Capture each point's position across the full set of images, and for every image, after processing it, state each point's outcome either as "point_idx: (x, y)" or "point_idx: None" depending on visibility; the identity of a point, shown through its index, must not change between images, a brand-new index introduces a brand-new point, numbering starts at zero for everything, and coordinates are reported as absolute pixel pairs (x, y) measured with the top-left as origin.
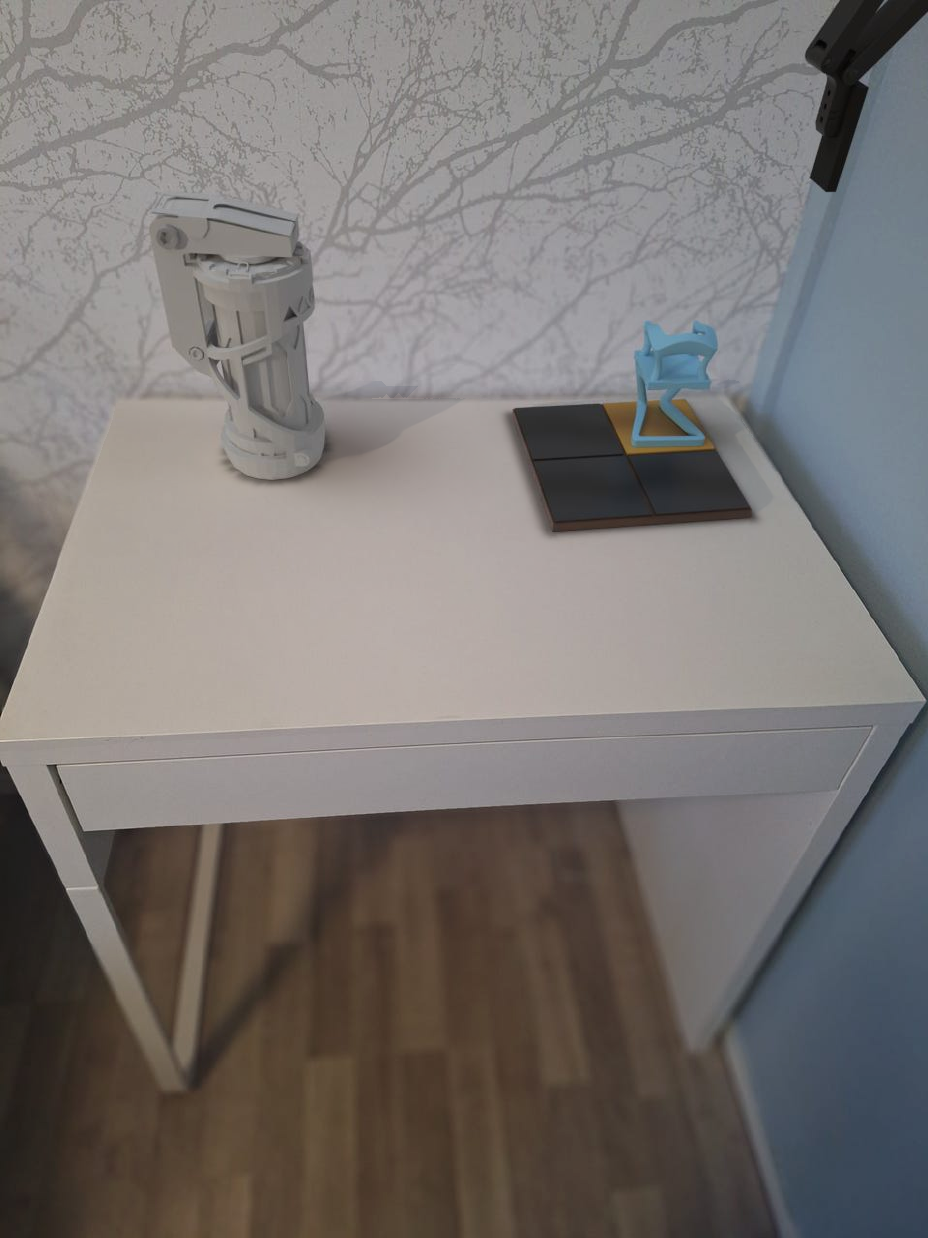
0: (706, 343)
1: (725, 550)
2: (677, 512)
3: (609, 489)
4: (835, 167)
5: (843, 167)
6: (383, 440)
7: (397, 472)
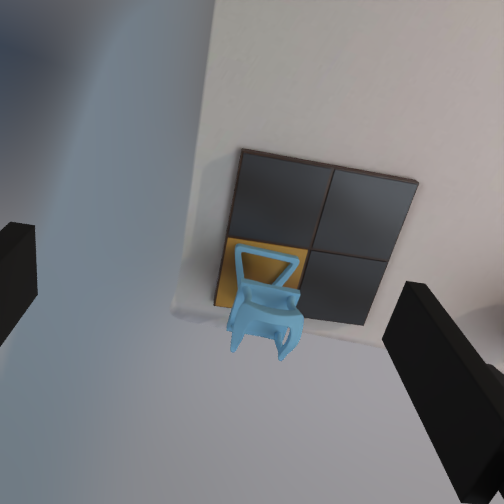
0: (256, 309)
1: (289, 113)
2: (312, 165)
3: (351, 209)
4: (441, 308)
5: (424, 306)
6: (470, 316)
7: (483, 278)
